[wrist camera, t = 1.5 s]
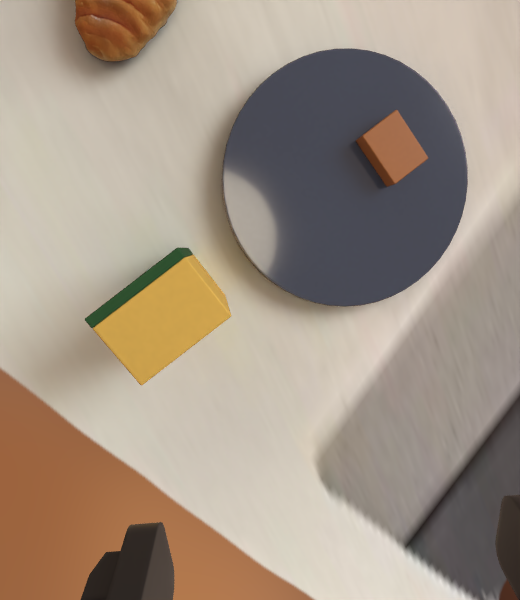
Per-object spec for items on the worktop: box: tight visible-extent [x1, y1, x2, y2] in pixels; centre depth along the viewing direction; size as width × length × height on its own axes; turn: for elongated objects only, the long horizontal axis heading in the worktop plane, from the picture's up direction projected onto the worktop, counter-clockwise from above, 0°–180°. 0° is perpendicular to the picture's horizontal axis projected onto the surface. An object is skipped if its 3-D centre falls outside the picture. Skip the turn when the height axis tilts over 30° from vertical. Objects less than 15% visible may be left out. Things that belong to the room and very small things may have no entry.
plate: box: [222, 49, 468, 306], centre depth 32 cm, size 18×18×2 cm
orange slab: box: [356, 110, 428, 187], centre depth 31 cm, size 4×3×2 cm
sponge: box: [85, 248, 231, 385], centre depth 28 cm, size 4×6×10 cm
